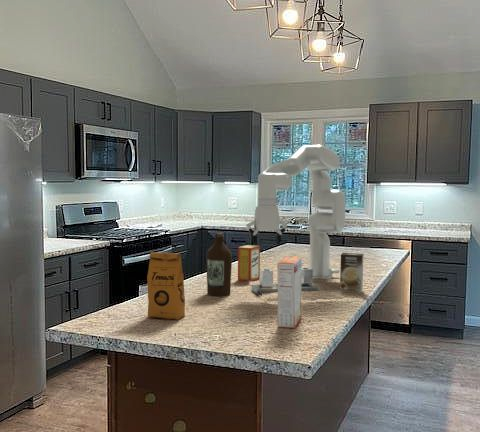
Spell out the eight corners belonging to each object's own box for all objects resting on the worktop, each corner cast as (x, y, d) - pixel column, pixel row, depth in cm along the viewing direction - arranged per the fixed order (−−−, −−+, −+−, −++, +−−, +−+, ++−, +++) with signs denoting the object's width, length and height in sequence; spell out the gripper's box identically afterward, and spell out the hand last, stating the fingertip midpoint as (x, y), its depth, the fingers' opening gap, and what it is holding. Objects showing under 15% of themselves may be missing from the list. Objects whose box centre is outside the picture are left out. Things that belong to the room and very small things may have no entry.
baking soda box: (250, 281, 245) (250, 247, 244) (237, 280, 248) (238, 246, 247) (259, 278, 253) (259, 245, 252) (247, 277, 256) (247, 244, 255)
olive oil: (211, 290, 224) (211, 231, 223) (235, 292, 221) (235, 232, 219) (202, 295, 214) (202, 233, 212) (226, 297, 211) (227, 234, 209)
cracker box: (284, 316, 181) (285, 255, 180) (301, 318, 179) (302, 256, 178) (275, 327, 168) (276, 261, 166) (294, 329, 166) (295, 262, 165)
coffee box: (339, 292, 223) (339, 254, 222) (341, 289, 229) (342, 252, 228) (361, 293, 220) (362, 255, 219) (363, 290, 226) (363, 253, 225)
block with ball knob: (306, 285, 237) (307, 267, 236) (312, 287, 233) (312, 268, 232) (298, 286, 235) (298, 267, 234) (303, 288, 231) (304, 269, 230)
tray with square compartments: (310, 288, 230) (310, 282, 230) (318, 293, 220) (318, 287, 220) (251, 290, 225) (251, 284, 225) (257, 295, 215) (257, 289, 215)
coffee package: (177, 322, 173) (177, 255, 172) (143, 319, 177) (143, 253, 175) (189, 315, 183) (189, 251, 181) (156, 312, 186) (156, 249, 185)
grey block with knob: (270, 287, 224) (270, 268, 223) (273, 289, 219) (273, 270, 219) (259, 288, 223) (260, 268, 222) (262, 290, 218) (262, 270, 218)
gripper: (284, 202, 224) (284, 243, 225) (244, 202, 221) (244, 243, 222) (289, 203, 217) (289, 245, 218) (248, 203, 214) (248, 246, 215)
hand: (266, 244), depth 220 cm, fingers open, 9 cm apart
